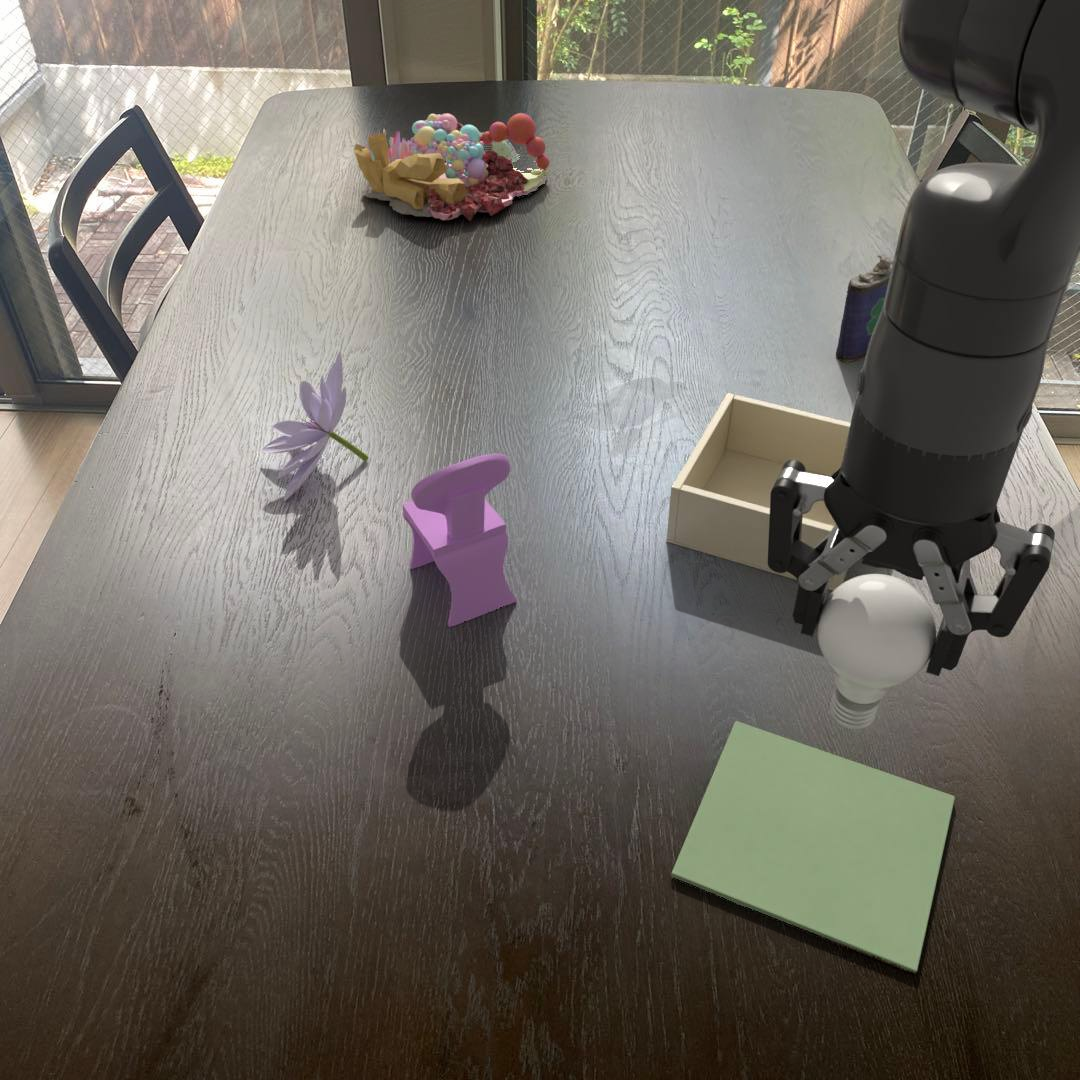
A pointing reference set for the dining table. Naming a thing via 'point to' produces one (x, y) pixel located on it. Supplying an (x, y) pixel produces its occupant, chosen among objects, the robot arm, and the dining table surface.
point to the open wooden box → (751, 479)
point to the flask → (863, 310)
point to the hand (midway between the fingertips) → (871, 644)
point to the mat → (819, 843)
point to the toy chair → (463, 534)
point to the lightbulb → (873, 642)
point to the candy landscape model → (451, 167)
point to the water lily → (313, 427)
